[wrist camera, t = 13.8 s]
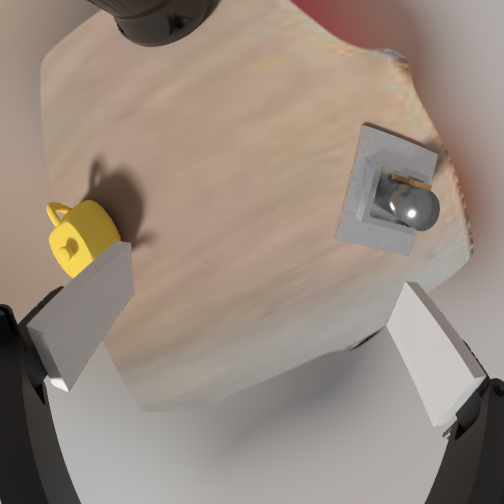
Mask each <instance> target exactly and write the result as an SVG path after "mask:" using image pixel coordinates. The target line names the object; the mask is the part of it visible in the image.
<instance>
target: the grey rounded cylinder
mask: <svg viewBox="0 0 504 504" xmlns="http://www.w3.org/2000/svg"><path fill="white" fill-rule="evenodd" d="M431 187H432V186H431V185H428V184H425V183H422V182H419V181H416V180H413V179H409V178H406V177H403V176H399V175H396V174H393V175H392V178H389V179H386V180H384V181H383V182H381V184H380V185H379V186H378V189H377V192H376V199H377V202H378V204H379V206H380V207H381V208H382V209H383V210H385V211H387V212H388V213H390V214H392V215H393V216H395V217H396V218H398V219H400V220H401V221H403V222H404V223H406V224H408V225H409V226H411V227H412V228H414V229H416V230H418V231H425V230H428V229H430V228H431V227H432V226H433V225H434V224H435V223H436V221H437V219H438V216H439V212H440V205H439V201H438V199H437V197H436V195H435V194H434V193H433V192H431Z"/></svg>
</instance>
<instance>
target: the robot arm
mask: <svg viewBox="0 0 504 504" xmlns="http://www.w3.org/2000/svg"><path fill="white" fill-rule="evenodd" d="M87 1H89V2H91V3H93V4H94V5H96V6H98V7H100V8H101V9H103V10H105V11H106V12H108V13H110V14H111V15H113V17H114V19H115V22H116V23H117V26H118V29H119V31H120V32H121V33H122V35H123V36H124V37H126V38H127V39H129V40H130V41H132V42H133V43H135V44H138V45H141V46H147V47H155V46H162V45H166V44H170V43H173V42H175V41H177V40H179V39H181V38H183V37H185V36H186V35H188V34H189V33H191V32H192V31H193V30H195V29H196V28H197V27H198V26H199V25H200V24H201V23H202V21H203V20H204V19H205V17H206V16H207V14H208V12H209V9H210V6H211V0H87ZM133 295H134V285H133V272H132V256H131V243H128V242H122V241H116V242H115V243H113V244H112V245H111V246H110V247H109V248H108V249H106V250H105V251H104V252H103V253H102V254H100V255H99V256H98V257H97V258H96V259H95V260H94V261H92V262H91V263H90V264H89V265H88V266H87V267H86V268H85V269H83V270H82V271H81V272H80V273H79V274H78V275H77V276H76V277H75V278H74V279H73V280H71V281H70V282H69V283H68V284H67V285H66V286H65V287H63V286H61V287H59V288H57V289H55V290H53V291H51V292H50V293H49V294H48V295H47V296H46V297H45V298H44V300H42V301H41V302H40V303H39V304H38V305H37V306H36V307H35V308H33V310H31V311H30V312H29V314H27V316H26V317H25V318H24V319H23V320H22V321H21V322H20V323H19V324H18V325H17V322H16V320H15V317H14V314H13V311H12V309H11V308H10V307H9V306H8V305H5V304H0V500H1V503H2V504H81V502H80V500H79V498H78V496H77V493H76V491H75V488H74V486H73V484H72V481H71V478H70V476H69V473H68V471H67V467H66V465H65V462H64V459H63V456H62V452H61V449H60V446H59V443H58V439H57V435H56V431H55V427H54V423H53V419H52V415H51V411H50V406H49V401H48V395H47V390H46V386H45V383H44V381H43V380H44V379H45V377H46V376H47V374H48V376H49V378H50V380H51V382H52V384H53V385H54V386H56V387H59V388H61V389H63V390H65V391H67V392H70V390H71V388H72V387H73V385H74V384H75V382H76V380H77V379H78V377H79V375H80V374H81V372H82V371H83V369H84V367H85V365H86V364H87V363H88V361H89V359H90V358H91V356H92V355H93V353H94V352H95V350H96V348H97V347H98V345H99V344H100V342H101V341H102V339H103V338H104V336H105V335H106V333H107V332H108V331H109V329H110V328H111V326H112V325H113V323H114V322H115V320H116V319H117V317H118V316H119V315H120V313H121V312H122V310H123V309H124V307H125V306H126V305H127V303H128V302H129V300H130V299H131V298H132V296H133ZM387 328H388V330H389V332H390V334H391V336H392V338H393V340H394V342H395V344H396V345H397V348H398V350H399V352H400V354H401V355H402V358H403V360H404V362H405V364H406V366H407V368H408V370H409V372H410V375H411V377H412V379H413V381H414V383H415V385H416V388H417V389H418V392H419V394H420V397H421V399H422V401H423V403H424V406H425V408H426V410H427V413H428V415H429V418H430V420H431V423H432V425H433V427H434V426H439V425H443V424H446V423H447V422H448V421H449V420H450V419H451V418H452V417H453V416H454V415H455V414H456V416H457V420H456V421H455V423H454V424H453V425H452V426H451V427H450V428H449V429H448V430H447V431H446V432H445V433H444V434H443V436H442V437H445V436H446V435H447V434H448V433H449V432H450V433H451V434H450V436H449V437H448V438H447V439H448V440H449V441H448V444H447V447H446V451H445V454H444V457H443V459H442V462H441V465H440V468H439V471H438V473H437V476H436V478H435V481H434V483H433V486H432V488H431V491H430V493H429V495H428V497H427V500H426V502H425V504H504V382H503V381H502V380H500V379H497V378H494V379H492V380H491V379H490V378H489V376H488V375H487V373H486V371H485V370H484V368H483V367H482V365H481V364H480V363H479V361H478V359H477V358H475V355H474V354H473V352H471V349H470V348H469V346H468V345H467V344H466V342H465V341H464V340H462V339H461V338H460V336H459V335H458V334H457V332H456V331H455V329H454V328H453V327H452V325H451V324H450V323H449V321H448V320H447V319H446V317H445V316H444V315H443V314H442V312H441V311H440V310H439V309H438V308H437V306H436V305H435V304H434V302H433V301H432V300H431V299H430V298H429V296H428V295H427V294H426V293H425V291H424V290H423V289H422V288H421V287H420V285H419V284H418V283H415V282H407V281H406V282H405V284H404V287H403V289H402V292H401V294H400V297H399V299H398V301H397V304H396V306H395V308H394V311H393V313H392V315H391V317H390V319H389V322H388V324H387Z"/></svg>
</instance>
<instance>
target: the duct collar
mask: <svg viewBox="0 0 504 504" xmlns="http://www.w3.org/2000/svg"><path fill="white" fill-rule="evenodd" d="M437 157H438V154H436V153H434V152H432V151H430V150H427V149H425V148H423V147H420V146H418V145H416V144H413V143H411V142H409V141H406V140H404V139H401V138H399V137H396V136H393V135H391V134H388V133H385V132H383V131H380V130H377V129H374V128H371V127H368V126H365V125H361V130H360V135H359V140H358V144H357V149H356V153H355V158H354V162H353V167H352V171H351V175H350V179H349V183H348V187H347V191H346V195H345V199H344V203H343V206H342V210H341V214H340V218H339V221H338V225H337V228H336V232H335V235H334V238H335V240H339V241H344V242H349V243H353V244H358V245H362V246H367V247H371V248H376V249H380V250H385V251H389V252H393V253H398V254H402V255H406V256H409V253H410V250H411V248H412V245H413V242H414V239H415V236H416V233H417V230H416V229H414V228H412V227H411V226H409V225H408V224H406V223H404V222H403V221H401V220H400V219H398V218H396V217H395V216H393V215H392V214H390V213H388V212H387V211H385V210H383V209H382V208H381V207H380V206H379V204H378V202H377V199H376V192H377V189H378V186H379V185H380V184H381V182H383V181H384V180H386V179H389V178H392V175H393V174H396V175H399V176H403V177H406V178H409V179H413V180H416V181H419V182H422V183H425V184H428V185H431V183H432V179H433V175H434V170H435V166H436V162H437Z"/></svg>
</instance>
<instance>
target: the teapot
mask: <svg viewBox="0 0 504 504" xmlns="http://www.w3.org/2000/svg"><path fill="white" fill-rule="evenodd" d="M55 211H56V212H62V213H66V214H65V216H64V217H63V218H62V219H61V220H60V219H59V217H58V216H57V214H56V212H55ZM47 213H48V215H49V217H50V219H51V220H52V222H53V224H54V225H55V226H56V227H55V228H54V230H53V231H52V233H51V235H50V237H49V243H50V246H51V249H52V251H53V253H54V255H55V257H56V259H57V261H58V262H59V264H60V265H61V266H62V268H63V269H64V270H65V271H66V273H67V274H68V275H69V276H71V277H72V278H75V277H76V276H77V275H78V274H79V273H80V272H81V271H82V270H83V269H85V268H86V267H87V266H88V265H89V264H90V263H91V262H92V261H94V260H95V259H96V258H97V257H98V256H99V255H100V254H102V253H103V252H104V251H105V250H106V249H108V248H109V247H110V246H111V245H112V244H113V243H115V242H116V241H121V239H120V238H121V237H120V234H119V233H118V230H117V228H116V226H115V224H114V222H113V220H112V219H111V217H110V216H109V215H108V213H107V212H106V211H105V210H104V208H103V207H102V206H100V205H99V204H98V203H96V202H95V201H92V200H86V201H83V202H81V203H80V204H78V205H77V206H75V207H74V208H70V207H68V206H65V205H63V204H60V203H56V202H52V203H49V204H48V205H47Z"/></svg>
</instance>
